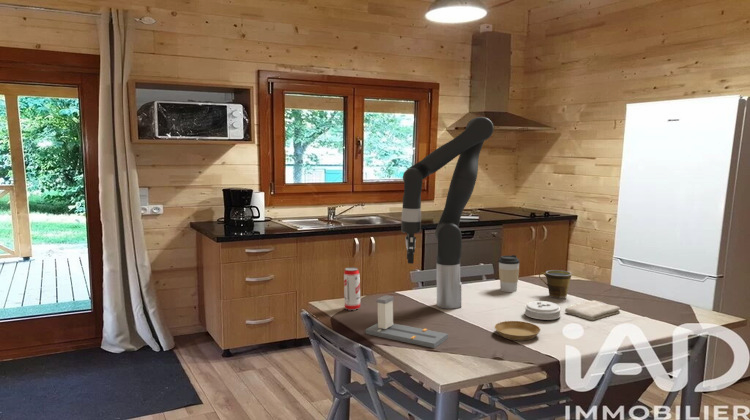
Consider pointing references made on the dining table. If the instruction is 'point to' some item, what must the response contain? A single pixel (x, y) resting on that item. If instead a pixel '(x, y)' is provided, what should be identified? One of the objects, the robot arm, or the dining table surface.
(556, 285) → the ceramic cup
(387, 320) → the fader tab
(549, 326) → the dining table surface
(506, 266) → the coffee cup
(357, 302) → the beer can
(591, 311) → the washcloth
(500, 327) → the plant saucer
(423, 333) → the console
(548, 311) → the lid
